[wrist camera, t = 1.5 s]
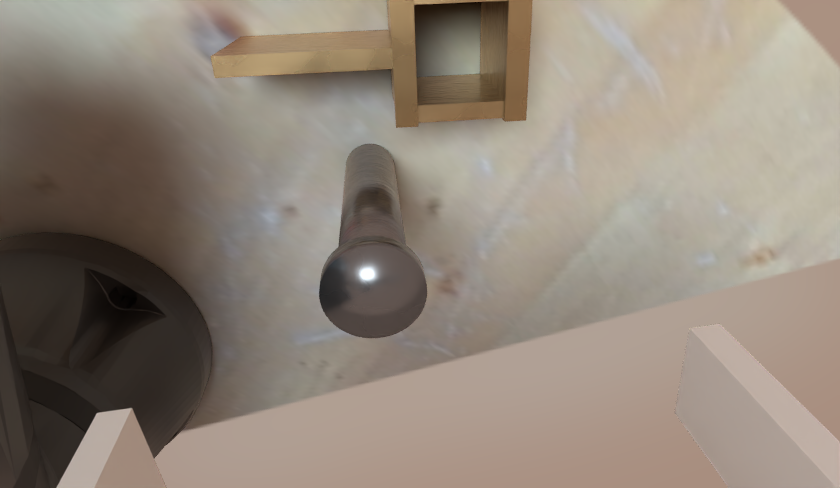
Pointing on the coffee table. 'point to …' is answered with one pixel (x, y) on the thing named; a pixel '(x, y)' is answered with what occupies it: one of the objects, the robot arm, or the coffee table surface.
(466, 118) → the hinge
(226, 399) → the coffee table surface
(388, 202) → the hinge pin
